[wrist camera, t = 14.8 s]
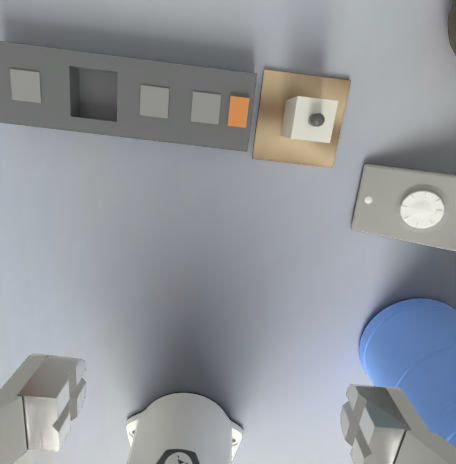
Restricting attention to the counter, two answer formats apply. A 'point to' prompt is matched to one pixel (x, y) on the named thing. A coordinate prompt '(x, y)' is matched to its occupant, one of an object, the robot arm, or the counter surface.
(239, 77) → the power strip
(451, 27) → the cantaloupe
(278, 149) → the cork pad
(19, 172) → the counter surface
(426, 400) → the water jug
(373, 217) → the light switch
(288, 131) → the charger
